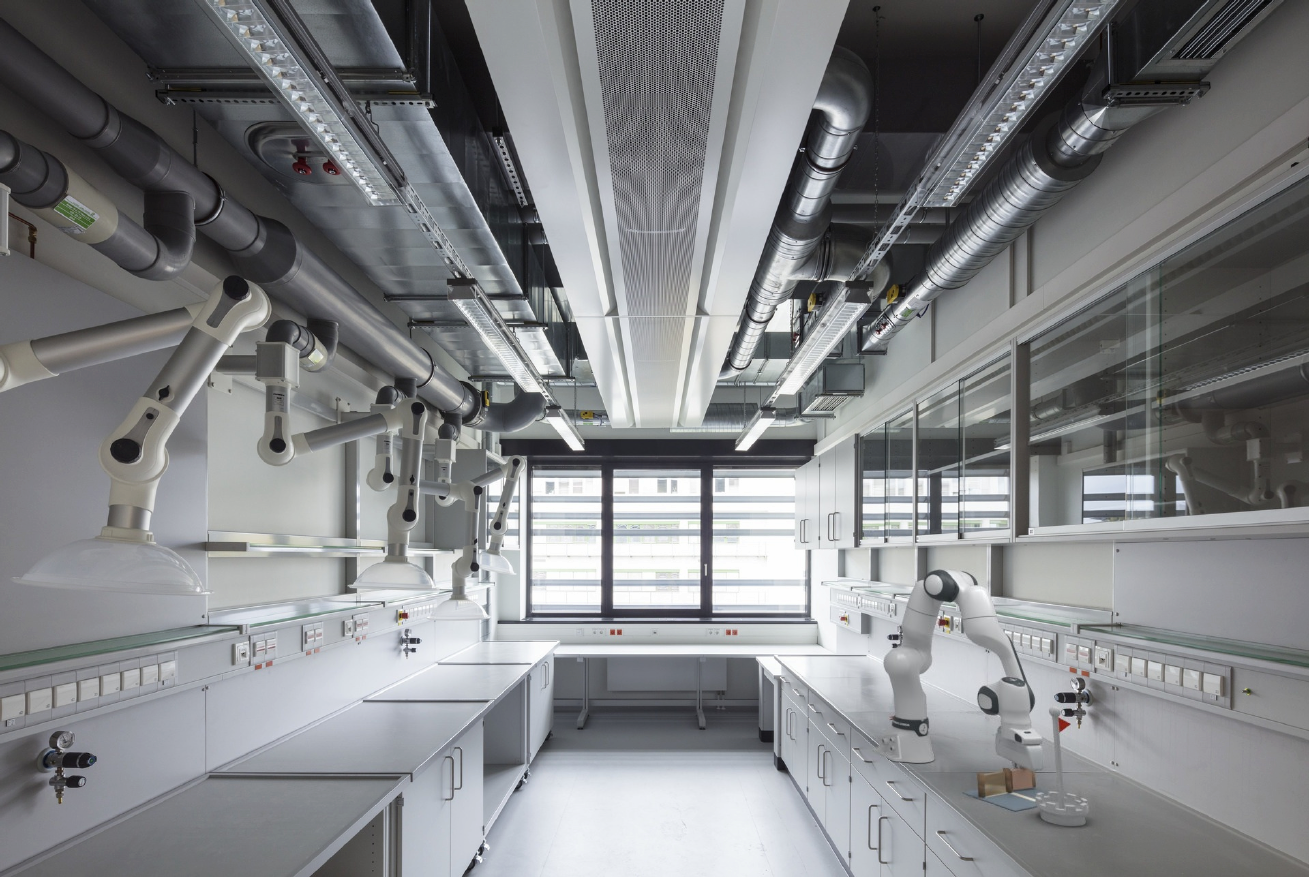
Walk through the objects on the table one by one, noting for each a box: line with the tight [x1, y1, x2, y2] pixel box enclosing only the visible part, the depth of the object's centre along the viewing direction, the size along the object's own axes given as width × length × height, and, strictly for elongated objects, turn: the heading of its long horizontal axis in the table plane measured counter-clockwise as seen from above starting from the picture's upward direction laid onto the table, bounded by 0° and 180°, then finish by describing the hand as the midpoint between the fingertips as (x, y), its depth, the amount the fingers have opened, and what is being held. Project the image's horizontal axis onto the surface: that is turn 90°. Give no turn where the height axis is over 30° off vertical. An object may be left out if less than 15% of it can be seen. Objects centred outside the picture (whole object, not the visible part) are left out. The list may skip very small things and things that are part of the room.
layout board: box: [962, 787, 1049, 813], centre depth 236 cm, size 19×24×1 cm
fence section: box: [1010, 768, 1037, 790], centre depth 241 cm, size 2×9×6 cm, turn 108°
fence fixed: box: [976, 767, 1012, 798], centre depth 237 cm, size 2×13×7 cm, turn 116°
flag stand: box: [1035, 705, 1090, 827], centre depth 218 cm, size 13×13×30 cm
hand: (1019, 777), depth 244 cm, fingers closed
